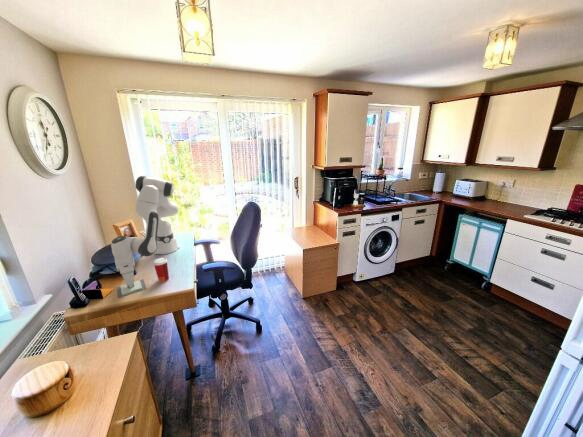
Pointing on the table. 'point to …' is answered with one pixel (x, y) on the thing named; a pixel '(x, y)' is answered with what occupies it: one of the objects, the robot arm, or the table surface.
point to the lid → (130, 288)
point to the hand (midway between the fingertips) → (130, 285)
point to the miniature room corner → (95, 292)
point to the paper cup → (161, 269)
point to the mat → (131, 292)
